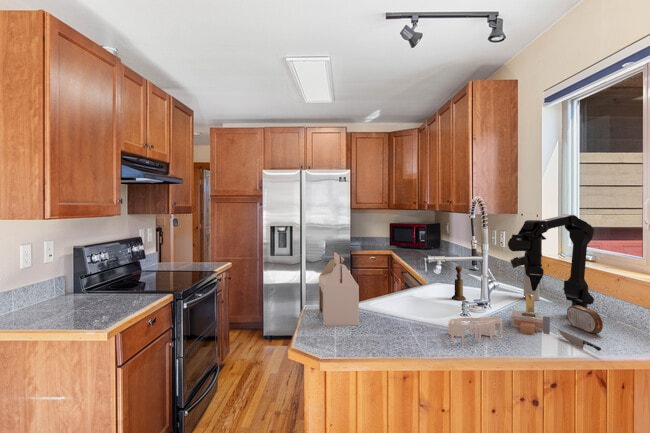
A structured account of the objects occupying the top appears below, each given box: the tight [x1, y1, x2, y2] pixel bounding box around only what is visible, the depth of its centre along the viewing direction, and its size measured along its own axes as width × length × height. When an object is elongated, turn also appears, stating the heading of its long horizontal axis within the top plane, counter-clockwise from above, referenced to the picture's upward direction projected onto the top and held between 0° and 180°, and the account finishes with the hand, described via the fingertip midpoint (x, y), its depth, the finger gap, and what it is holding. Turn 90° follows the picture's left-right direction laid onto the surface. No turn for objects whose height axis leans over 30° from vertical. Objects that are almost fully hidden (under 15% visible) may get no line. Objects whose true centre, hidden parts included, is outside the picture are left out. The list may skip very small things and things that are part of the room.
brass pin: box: [525, 294, 535, 313], centre depth 155 cm, size 3×3×10 cm
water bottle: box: [523, 251, 544, 302], centre depth 190 cm, size 9×8×25 cm
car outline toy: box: [447, 316, 504, 344], centre depth 130 cm, size 20×11×7 cm, turn 95°
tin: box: [566, 305, 604, 334], centre depth 142 cm, size 15×3×8 cm, turn 4°
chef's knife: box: [557, 328, 602, 352], centre depth 124 cm, size 19×1×3 cm, turn 4°
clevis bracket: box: [510, 309, 544, 335], centre depth 143 cm, size 16×10×5 cm
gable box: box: [318, 251, 360, 326], centre depth 150 cm, size 22×13×28 cm, turn 6°
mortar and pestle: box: [451, 265, 467, 302], centre depth 186 cm, size 7×6×18 cm
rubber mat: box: [543, 315, 551, 335], centre depth 150 cm, size 26×14×1 cm, turn 149°
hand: (533, 288), depth 154 cm, fingers open, 9 cm apart
